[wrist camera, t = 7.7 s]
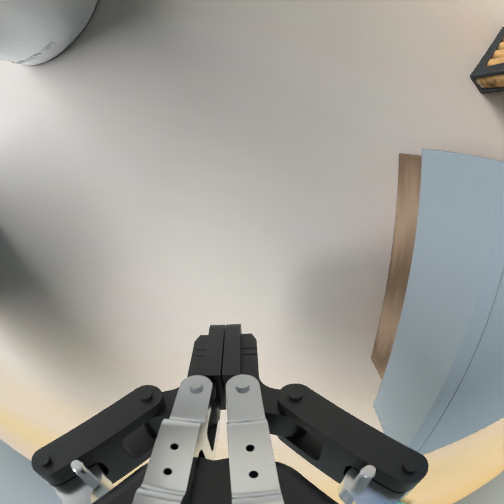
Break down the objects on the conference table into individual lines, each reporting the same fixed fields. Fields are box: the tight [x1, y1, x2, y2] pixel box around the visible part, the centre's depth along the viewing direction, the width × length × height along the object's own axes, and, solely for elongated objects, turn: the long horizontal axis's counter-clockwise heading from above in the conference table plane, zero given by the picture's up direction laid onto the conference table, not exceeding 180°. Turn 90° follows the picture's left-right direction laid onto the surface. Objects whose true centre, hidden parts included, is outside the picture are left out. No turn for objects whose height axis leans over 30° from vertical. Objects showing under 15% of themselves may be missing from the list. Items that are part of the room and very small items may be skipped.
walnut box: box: [371, 154, 422, 379], centre depth 17 cm, size 18×18×10 cm
